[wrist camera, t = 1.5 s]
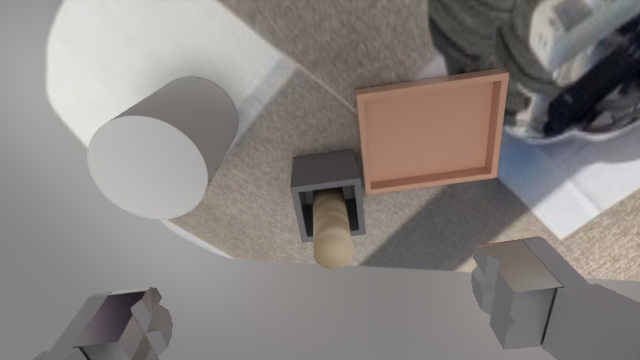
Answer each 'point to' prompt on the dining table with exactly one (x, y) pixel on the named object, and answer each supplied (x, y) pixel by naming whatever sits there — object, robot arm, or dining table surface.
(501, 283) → the robot arm
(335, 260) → the dowel
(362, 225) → the holder
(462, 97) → the tray
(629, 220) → the dining table surface
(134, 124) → the grey patterned cylinder
